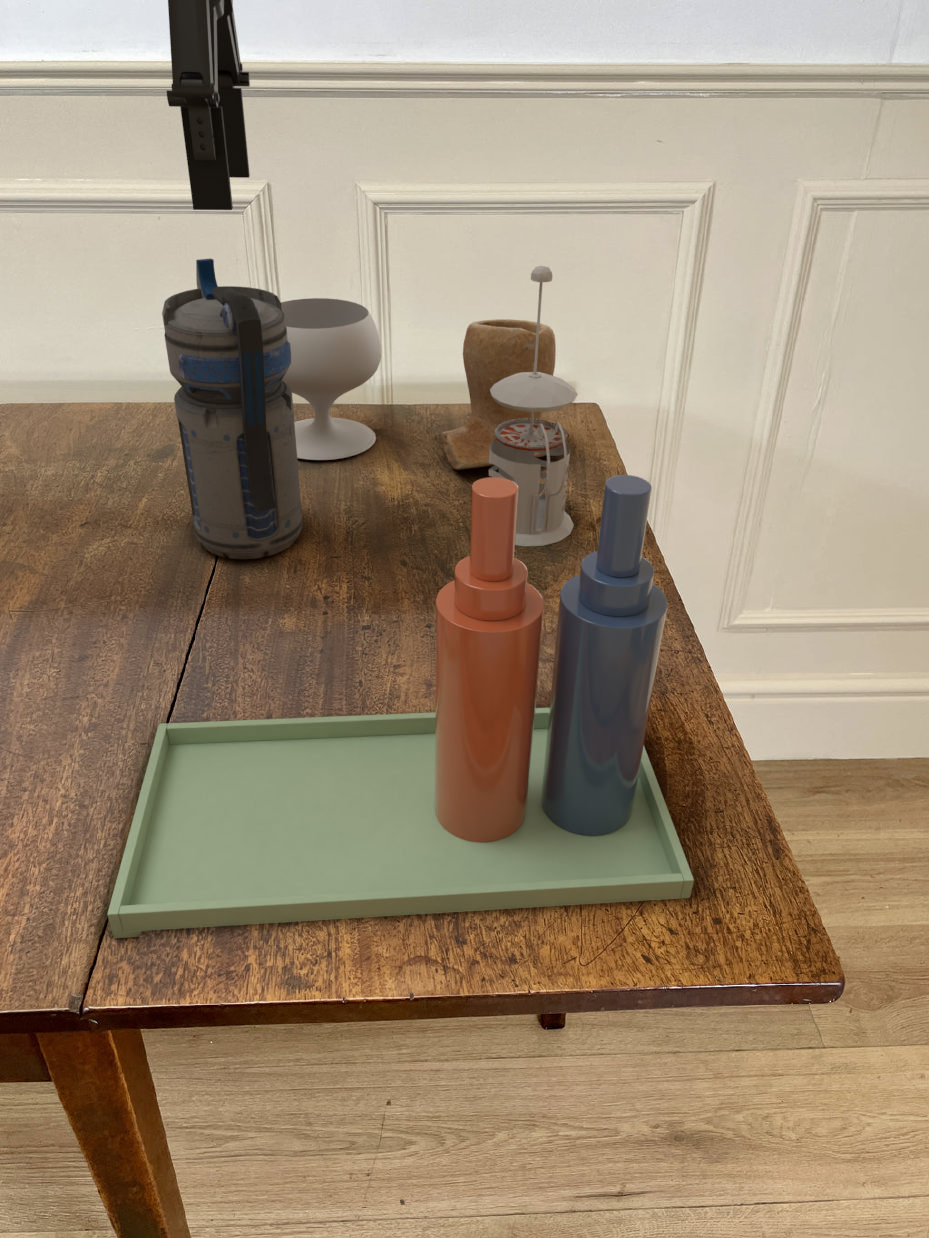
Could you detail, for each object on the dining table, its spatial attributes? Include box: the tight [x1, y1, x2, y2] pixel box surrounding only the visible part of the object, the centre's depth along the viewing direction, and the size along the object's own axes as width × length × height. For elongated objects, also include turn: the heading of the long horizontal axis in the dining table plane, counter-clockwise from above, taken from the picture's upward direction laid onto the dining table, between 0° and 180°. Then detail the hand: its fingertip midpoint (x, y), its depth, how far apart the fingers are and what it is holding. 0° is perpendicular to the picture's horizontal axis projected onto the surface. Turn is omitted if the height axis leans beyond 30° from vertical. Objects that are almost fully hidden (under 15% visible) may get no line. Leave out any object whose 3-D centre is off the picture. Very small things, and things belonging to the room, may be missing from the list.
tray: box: [106, 707, 695, 939], centre depth 60 cm, size 33×16×2 cm, turn 95°
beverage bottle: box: [161, 258, 304, 560], centre depth 83 cm, size 10×13×25 cm
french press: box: [488, 265, 579, 547], centre depth 87 cm, size 10×12×25 cm
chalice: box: [280, 297, 382, 461], centre depth 107 cm, size 14×14×15 cm
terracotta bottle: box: [434, 476, 545, 842], centre depth 55 cm, size 6×6×23 cm
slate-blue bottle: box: [541, 474, 668, 836], centre depth 55 cm, size 6×6×23 cm
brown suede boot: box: [439, 318, 568, 471], centre depth 105 cm, size 15×12×15 cm
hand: (223, 192), depth 74 cm, fingers open, 13 cm apart
